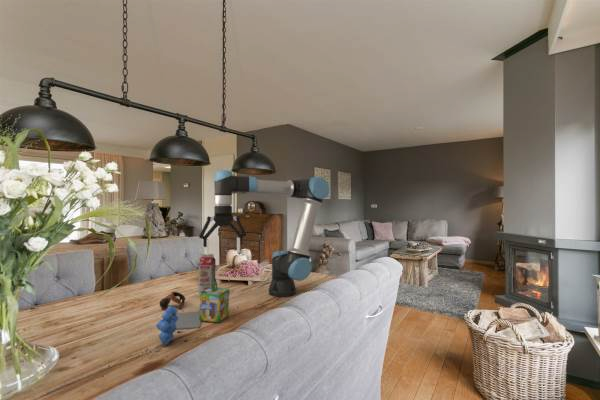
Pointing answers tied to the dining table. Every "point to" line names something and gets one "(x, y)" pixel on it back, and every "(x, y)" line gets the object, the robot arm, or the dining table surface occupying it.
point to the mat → (188, 320)
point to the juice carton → (206, 273)
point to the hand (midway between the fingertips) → (223, 253)
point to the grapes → (167, 325)
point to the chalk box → (214, 304)
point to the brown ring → (173, 295)
